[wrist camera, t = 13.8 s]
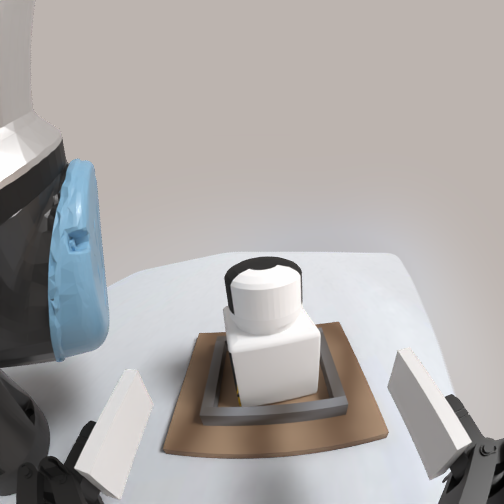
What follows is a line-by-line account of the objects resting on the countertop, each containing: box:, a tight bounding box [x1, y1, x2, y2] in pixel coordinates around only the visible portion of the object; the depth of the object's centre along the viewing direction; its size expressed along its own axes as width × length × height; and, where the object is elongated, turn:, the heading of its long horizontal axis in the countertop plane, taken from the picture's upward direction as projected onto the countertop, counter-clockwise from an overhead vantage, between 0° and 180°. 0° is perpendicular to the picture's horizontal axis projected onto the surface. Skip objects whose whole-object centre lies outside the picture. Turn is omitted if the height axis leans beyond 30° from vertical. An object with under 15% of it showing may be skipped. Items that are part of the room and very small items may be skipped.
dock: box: [163, 322, 389, 458], centre depth 25 cm, size 18×18×2 cm
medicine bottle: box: [223, 257, 321, 407], centre depth 23 cm, size 7×7×12 cm
